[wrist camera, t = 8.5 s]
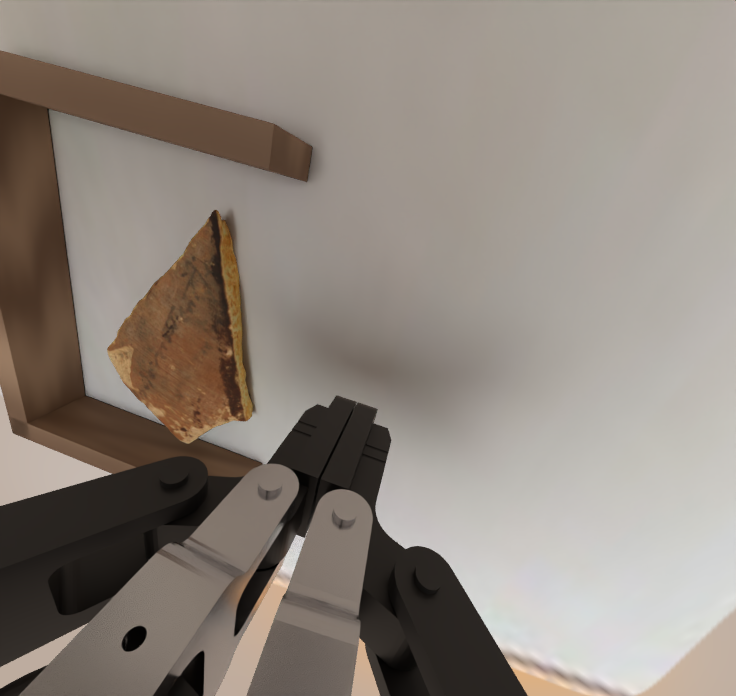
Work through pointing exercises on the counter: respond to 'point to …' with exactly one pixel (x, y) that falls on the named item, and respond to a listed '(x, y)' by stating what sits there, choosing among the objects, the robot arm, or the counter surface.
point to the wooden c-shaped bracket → (50, 267)
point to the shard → (189, 340)
